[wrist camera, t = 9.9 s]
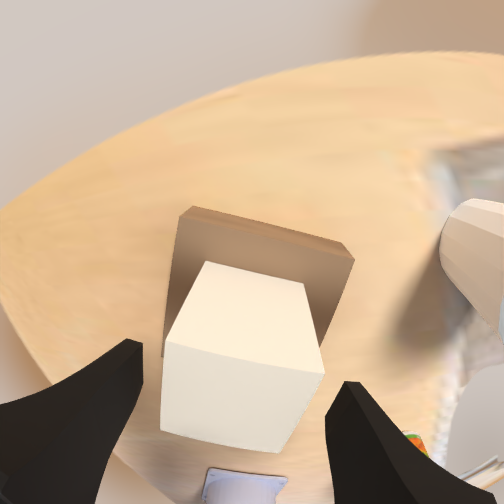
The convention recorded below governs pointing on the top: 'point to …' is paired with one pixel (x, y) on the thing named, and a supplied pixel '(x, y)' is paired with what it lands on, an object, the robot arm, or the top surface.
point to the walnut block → (257, 260)
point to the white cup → (477, 257)
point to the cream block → (240, 360)
